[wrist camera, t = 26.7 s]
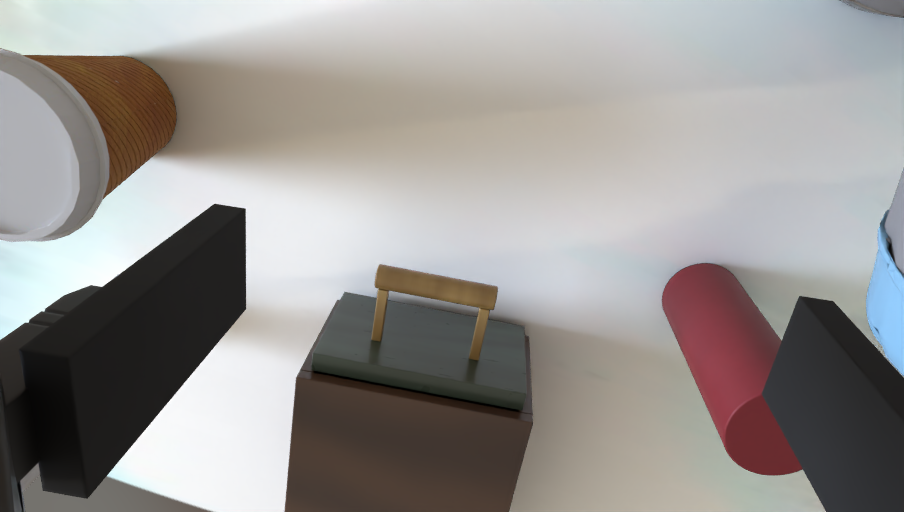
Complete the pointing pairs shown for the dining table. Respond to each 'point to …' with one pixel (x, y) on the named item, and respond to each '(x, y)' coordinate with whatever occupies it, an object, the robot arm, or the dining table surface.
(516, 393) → the drawer
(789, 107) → the dining table surface
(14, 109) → the disposable coffee cup
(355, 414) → the cabinet
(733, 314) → the candle
